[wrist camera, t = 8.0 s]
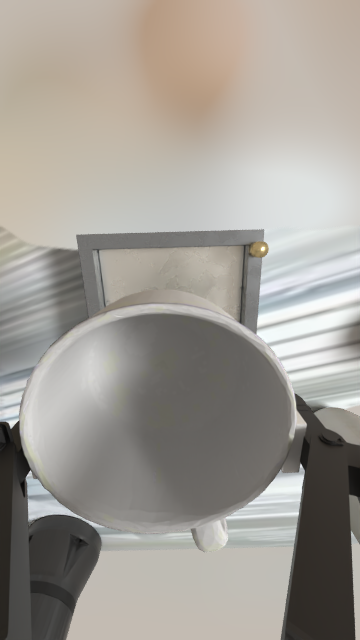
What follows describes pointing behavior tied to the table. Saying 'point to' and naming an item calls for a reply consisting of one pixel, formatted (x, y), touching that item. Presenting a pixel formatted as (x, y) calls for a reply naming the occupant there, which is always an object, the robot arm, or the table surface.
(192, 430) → the teacup
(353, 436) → the grey bottle
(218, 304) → the grey serving tray
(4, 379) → the table surface
